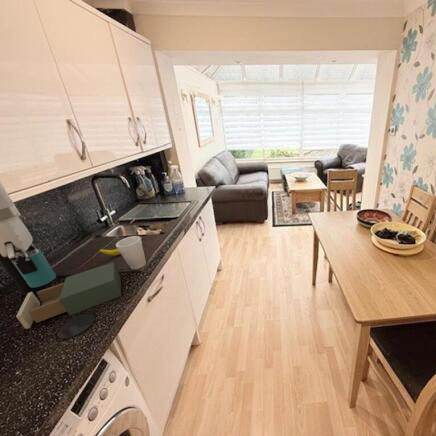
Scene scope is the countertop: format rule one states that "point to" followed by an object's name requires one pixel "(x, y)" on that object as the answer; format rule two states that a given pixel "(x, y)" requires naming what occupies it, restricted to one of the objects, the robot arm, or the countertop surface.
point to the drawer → (47, 310)
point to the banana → (111, 251)
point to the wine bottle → (19, 276)
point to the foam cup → (132, 251)
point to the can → (43, 272)
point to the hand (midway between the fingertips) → (33, 266)
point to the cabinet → (90, 288)
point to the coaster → (76, 326)
